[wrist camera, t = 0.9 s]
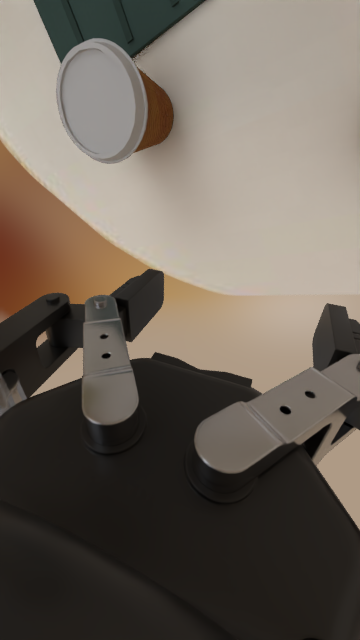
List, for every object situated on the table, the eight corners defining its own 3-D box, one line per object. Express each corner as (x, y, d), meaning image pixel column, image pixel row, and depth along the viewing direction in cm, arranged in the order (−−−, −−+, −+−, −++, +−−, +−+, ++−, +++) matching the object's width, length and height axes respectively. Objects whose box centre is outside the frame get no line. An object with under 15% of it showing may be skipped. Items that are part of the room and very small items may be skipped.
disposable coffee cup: (196, 138, 34) (157, 136, 25) (137, 171, 39) (85, 179, 30) (167, 46, 31) (107, 2, 21) (106, 94, 35) (34, 75, 26)
